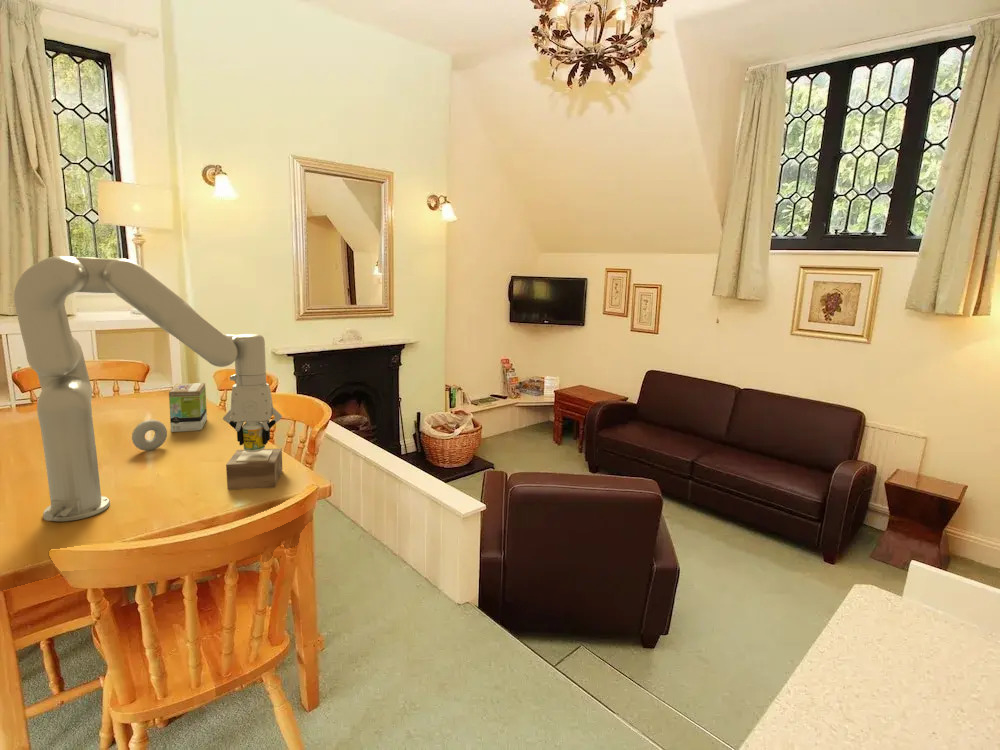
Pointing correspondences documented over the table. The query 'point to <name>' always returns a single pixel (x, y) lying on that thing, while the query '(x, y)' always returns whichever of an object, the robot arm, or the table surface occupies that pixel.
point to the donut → (144, 427)
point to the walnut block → (254, 469)
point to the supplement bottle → (253, 436)
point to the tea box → (187, 407)
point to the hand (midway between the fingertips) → (254, 442)
